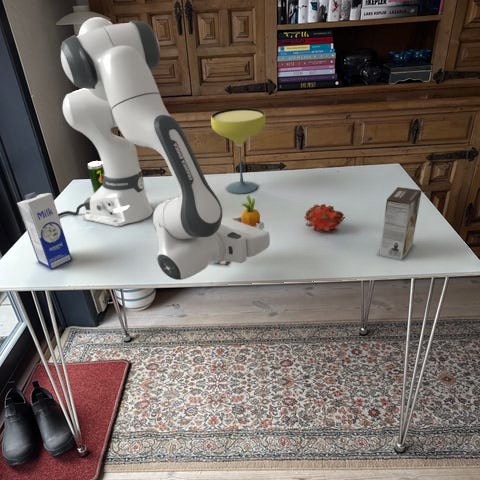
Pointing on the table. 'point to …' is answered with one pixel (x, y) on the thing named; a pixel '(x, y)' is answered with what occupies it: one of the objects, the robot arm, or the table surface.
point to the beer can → (95, 174)
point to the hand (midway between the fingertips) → (253, 221)
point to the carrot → (250, 213)
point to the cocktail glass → (239, 135)
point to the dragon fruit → (323, 218)
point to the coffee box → (400, 222)
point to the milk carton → (45, 229)
